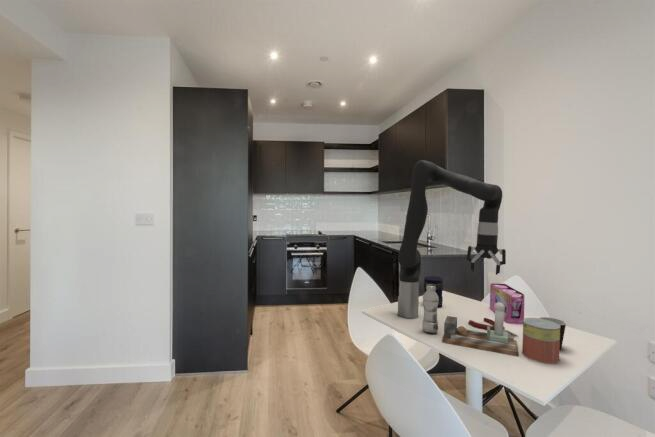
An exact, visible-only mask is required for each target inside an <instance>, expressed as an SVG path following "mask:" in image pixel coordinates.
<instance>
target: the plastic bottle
mask: <svg viewBox="0 0 655 437" xmlns="http://www.w3.org/2000/svg"><path fill="white" fill-rule="evenodd" d="M435 288H436V286H435V285H432V284H427V287H426V289H427V291H426V292H425V293H423V295H422V302H423V317H422V319H423V320H422V325H421V326H422V327H421V328H422V330H423V331H424V332H426V333H429V334H435V333H438V331H439V322H438V308H437V307H438V301H439V298H438V295H437V293H436V292H435V290H436V289H435Z"/></svg>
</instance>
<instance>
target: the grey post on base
mask: <svg viewBox="0 0 655 437" xmlns="http://www.w3.org/2000/svg"><path fill="white" fill-rule="evenodd" d="M494 308H495V312H494V321H495V327H494V330H490V326H491V324H489V323H487V324H486V325H487V330H486V333H487V340H488V341H494V342H500V343H506V344H508V334H507V332H503V327H504V325H505V324H504V323H505V321H504V310H505V306H504V304H502V303H500V302H498V303H496V304H495V305H494Z"/></svg>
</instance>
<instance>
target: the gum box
mask: <svg viewBox="0 0 655 437" xmlns="http://www.w3.org/2000/svg"><path fill="white" fill-rule="evenodd" d="M489 286H490V287H489V290H490V291H489V310H491V311H492V312H493V313H495V308H494V305H495V304H496V303H498V302H500V303H502V304H504V306H505V310H504V323H506V324H517V325H518V324H520V325H521V324H522V325H523V319H525V293H523V292H520V291H518V290H517V289H516V288H514V287H512V286H510V285H508V284H506V283H493V282H491V283H490V285H489Z"/></svg>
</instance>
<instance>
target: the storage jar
mask: <svg viewBox="0 0 655 437" xmlns="http://www.w3.org/2000/svg"><path fill="white" fill-rule="evenodd" d="M423 279H424V281H423V288H424V291H423V292H424V293H425V292H426V291H427V289H426V287H427V284H432V285H435V286H436V288H435V289H436V290H435V292H436V293H437V295H438V298H439V301H438V307H437V309H442V308H443V289H444V281H443V280H444V279H443V278H442V277H440V276H429V275H428V276H424V277H423ZM424 293H423V294H424Z"/></svg>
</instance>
